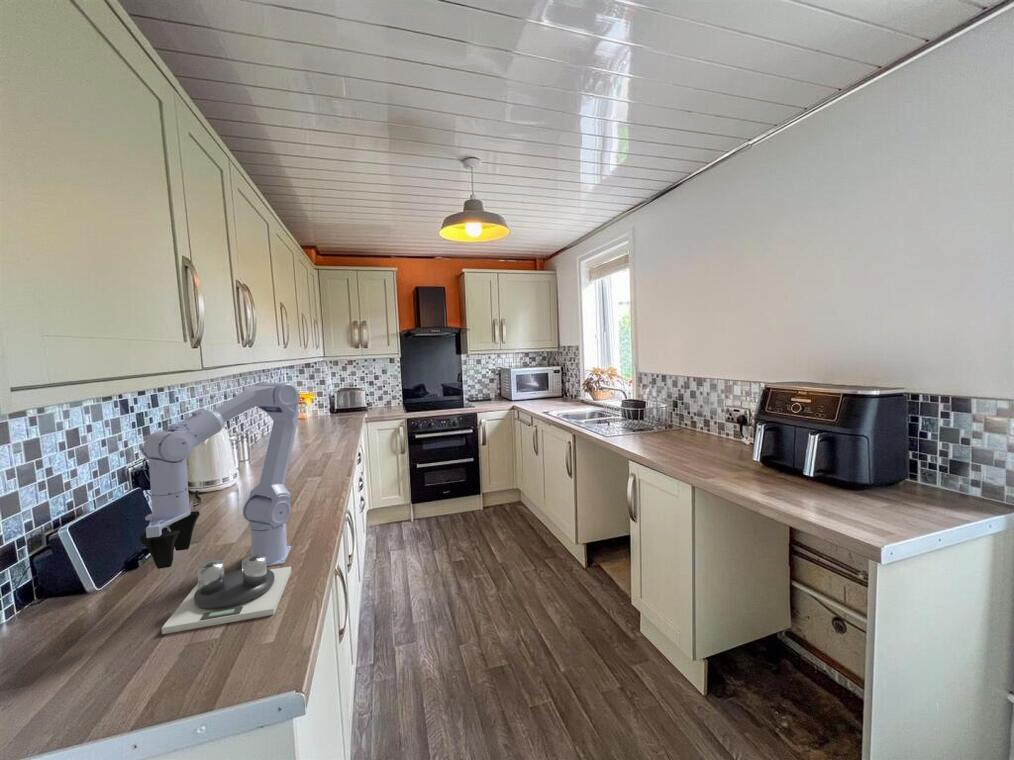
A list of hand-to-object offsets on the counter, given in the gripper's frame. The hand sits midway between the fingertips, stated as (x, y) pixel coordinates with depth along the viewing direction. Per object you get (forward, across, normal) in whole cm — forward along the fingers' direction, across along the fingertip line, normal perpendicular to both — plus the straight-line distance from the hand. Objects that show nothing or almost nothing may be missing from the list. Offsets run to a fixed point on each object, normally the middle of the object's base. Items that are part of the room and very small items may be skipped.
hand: (173, 558), depth 82 cm
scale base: (+10, +1, +10) cm, 14 cm away
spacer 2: (+8, 0, +14) cm, 16 cm away
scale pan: (+8, 0, +10) cm, 13 cm away
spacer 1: (+8, 0, +6) cm, 10 cm away
